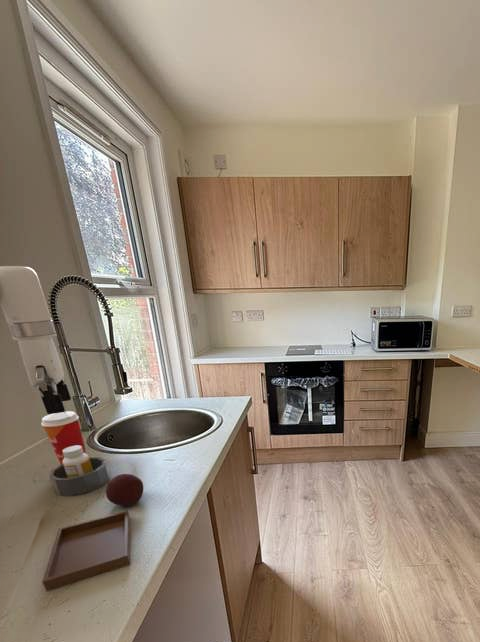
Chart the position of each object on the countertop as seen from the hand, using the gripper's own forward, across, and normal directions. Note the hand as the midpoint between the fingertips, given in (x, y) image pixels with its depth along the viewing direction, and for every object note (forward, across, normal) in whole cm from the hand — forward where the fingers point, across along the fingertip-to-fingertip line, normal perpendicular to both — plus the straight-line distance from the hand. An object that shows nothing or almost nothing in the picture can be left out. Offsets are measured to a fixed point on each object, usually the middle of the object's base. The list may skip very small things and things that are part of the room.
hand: (60, 406), depth 81 cm
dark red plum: (+21, +16, +9) cm, 27 cm away
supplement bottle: (+20, 0, -1) cm, 21 cm away
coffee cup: (+20, -12, -4) cm, 24 cm away
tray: (+20, +30, +4) cm, 37 cm away
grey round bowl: (+20, 0, -1) cm, 20 cm away
